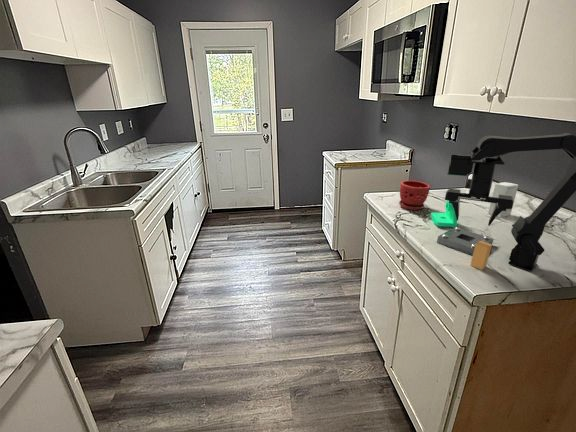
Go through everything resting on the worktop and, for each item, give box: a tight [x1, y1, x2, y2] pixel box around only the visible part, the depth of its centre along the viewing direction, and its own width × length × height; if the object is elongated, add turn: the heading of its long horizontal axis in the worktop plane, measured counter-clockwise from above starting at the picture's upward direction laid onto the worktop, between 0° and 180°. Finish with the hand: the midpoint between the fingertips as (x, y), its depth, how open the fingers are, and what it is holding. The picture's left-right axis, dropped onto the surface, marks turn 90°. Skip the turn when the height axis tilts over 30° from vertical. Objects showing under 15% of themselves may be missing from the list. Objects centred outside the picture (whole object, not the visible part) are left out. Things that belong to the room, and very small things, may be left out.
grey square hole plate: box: [436, 226, 494, 256], centre depth 117 cm, size 14×14×3 cm
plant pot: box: [398, 180, 431, 211], centre depth 152 cm, size 13×13×12 cm
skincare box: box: [487, 181, 519, 219], centre depth 142 cm, size 8×6×15 cm
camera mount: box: [430, 200, 458, 228], centre depth 134 cm, size 12×8×10 cm, turn 170°
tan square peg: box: [470, 241, 493, 271], centre depth 101 cm, size 4×4×8 cm
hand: (472, 222), depth 105 cm, fingers open, 9 cm apart
